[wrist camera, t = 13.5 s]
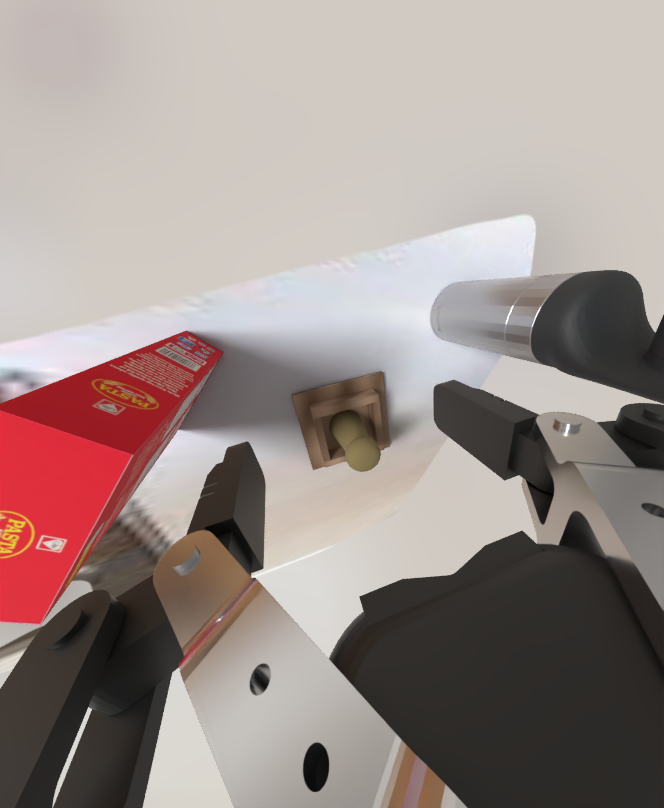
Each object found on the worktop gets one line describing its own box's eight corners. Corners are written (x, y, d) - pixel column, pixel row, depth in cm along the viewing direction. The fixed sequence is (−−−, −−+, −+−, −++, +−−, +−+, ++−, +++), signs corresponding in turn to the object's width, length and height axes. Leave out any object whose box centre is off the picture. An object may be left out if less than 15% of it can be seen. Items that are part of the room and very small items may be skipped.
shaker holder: (381, 371, 41) (390, 377, 38) (387, 444, 48) (396, 455, 45) (291, 394, 39) (293, 403, 36) (312, 467, 46) (315, 480, 43)
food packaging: (185, 330, 32) (-9, 407, 10) (223, 352, 34) (133, 455, 12) (141, 414, 35) (-84, 617, 13) (178, 429, 37) (40, 624, 15)
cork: (342, 444, 45) (362, 485, 35) (322, 424, 42) (337, 463, 32) (367, 423, 44) (394, 459, 34) (348, 402, 41) (372, 435, 32)
